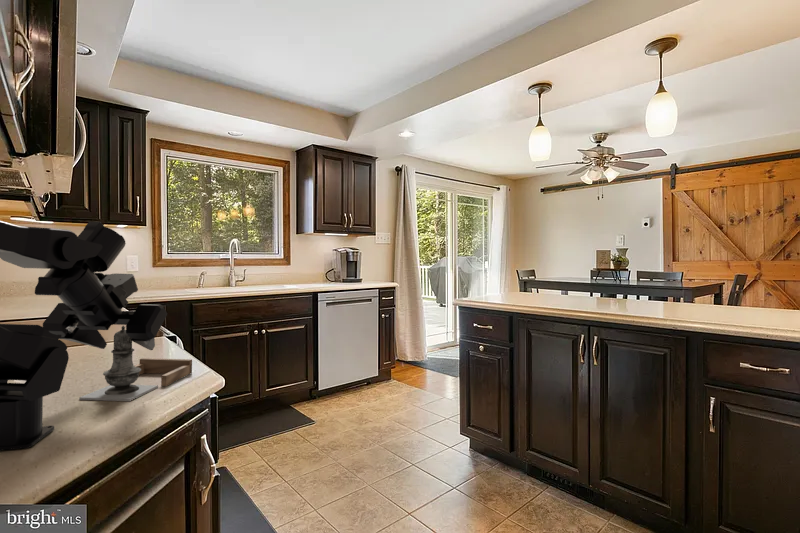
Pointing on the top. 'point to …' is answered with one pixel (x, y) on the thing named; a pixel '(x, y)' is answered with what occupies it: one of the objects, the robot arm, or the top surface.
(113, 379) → the salt shaker
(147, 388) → the slate mat
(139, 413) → the top surface
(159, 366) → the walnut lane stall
